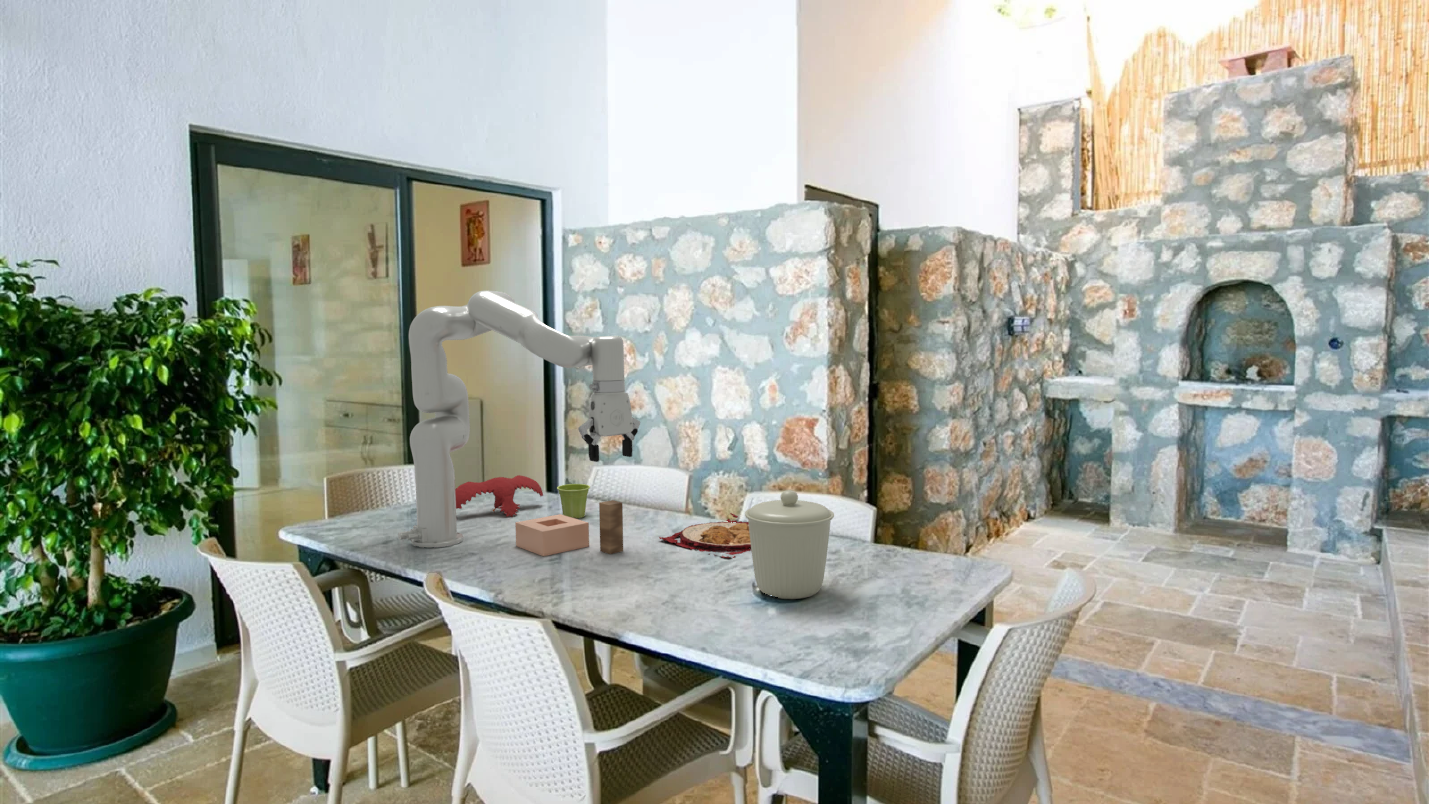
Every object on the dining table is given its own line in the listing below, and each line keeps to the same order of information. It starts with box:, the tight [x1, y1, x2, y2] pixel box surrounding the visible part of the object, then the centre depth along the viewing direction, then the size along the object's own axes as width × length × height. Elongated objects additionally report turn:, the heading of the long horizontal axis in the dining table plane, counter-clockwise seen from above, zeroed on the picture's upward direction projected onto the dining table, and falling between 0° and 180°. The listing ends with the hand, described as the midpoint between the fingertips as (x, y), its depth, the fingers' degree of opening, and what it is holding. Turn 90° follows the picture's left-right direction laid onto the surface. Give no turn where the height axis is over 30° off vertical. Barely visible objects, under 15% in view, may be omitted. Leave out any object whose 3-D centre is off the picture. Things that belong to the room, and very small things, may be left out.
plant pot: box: [556, 483, 591, 519], centre depth 242 cm, size 9×9×9 cm
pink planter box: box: [515, 513, 590, 557], centre depth 210 cm, size 13×13×6 cm
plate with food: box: [658, 512, 752, 559], centre depth 215 cm, size 25×26×4 cm
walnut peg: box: [598, 499, 624, 555], centre depth 205 cm, size 4×4×12 cm
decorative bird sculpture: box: [455, 474, 544, 518], centre depth 247 cm, size 28×9×15 cm
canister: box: [744, 489, 835, 600], centre depth 172 cm, size 18×18×21 cm
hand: (611, 458), depth 203 cm, fingers open, 9 cm apart
